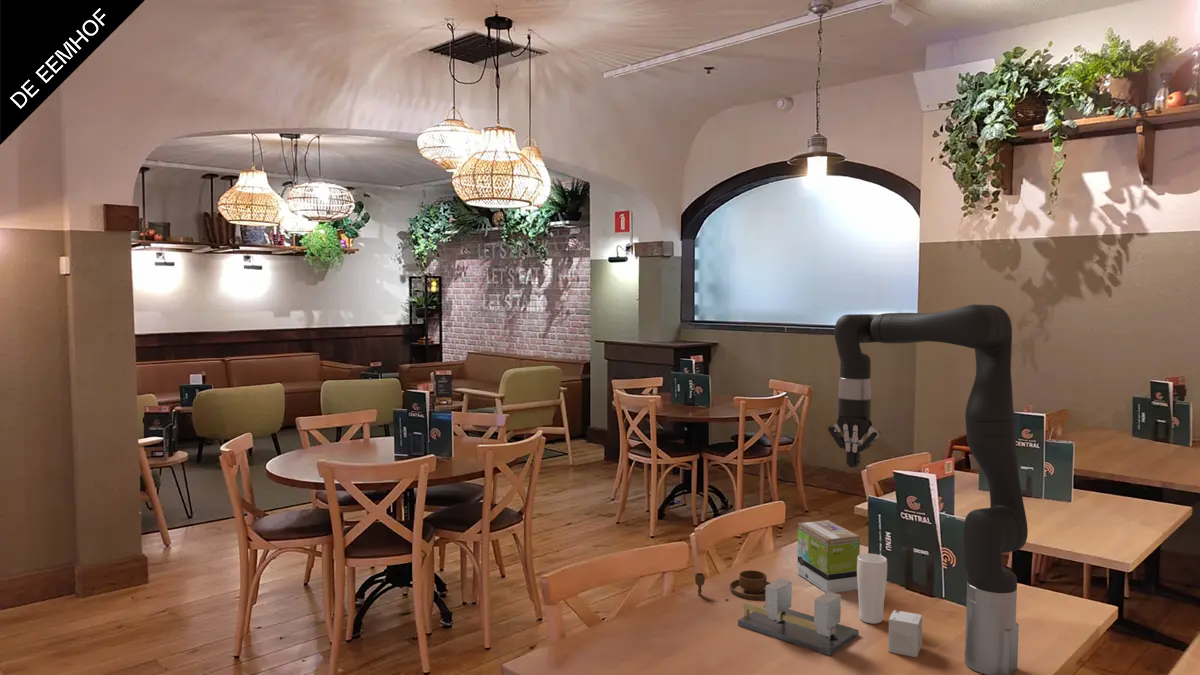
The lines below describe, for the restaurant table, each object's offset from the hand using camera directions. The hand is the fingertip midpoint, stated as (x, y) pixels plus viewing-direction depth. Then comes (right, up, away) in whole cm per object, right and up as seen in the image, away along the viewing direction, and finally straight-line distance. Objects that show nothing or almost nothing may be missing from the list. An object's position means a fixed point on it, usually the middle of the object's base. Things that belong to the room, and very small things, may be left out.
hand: (853, 466), depth 193 cm
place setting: (-26, -35, +13) cm, 46 cm away
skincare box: (+5, -37, -21) cm, 42 cm away
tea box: (-1, -34, +19) cm, 39 cm away
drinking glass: (+2, -36, -6) cm, 36 cm away
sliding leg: (-21, -34, -12) cm, 42 cm away
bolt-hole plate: (-16, -36, -11) cm, 41 cm away
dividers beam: (-19, -35, -14) cm, 42 cm away
